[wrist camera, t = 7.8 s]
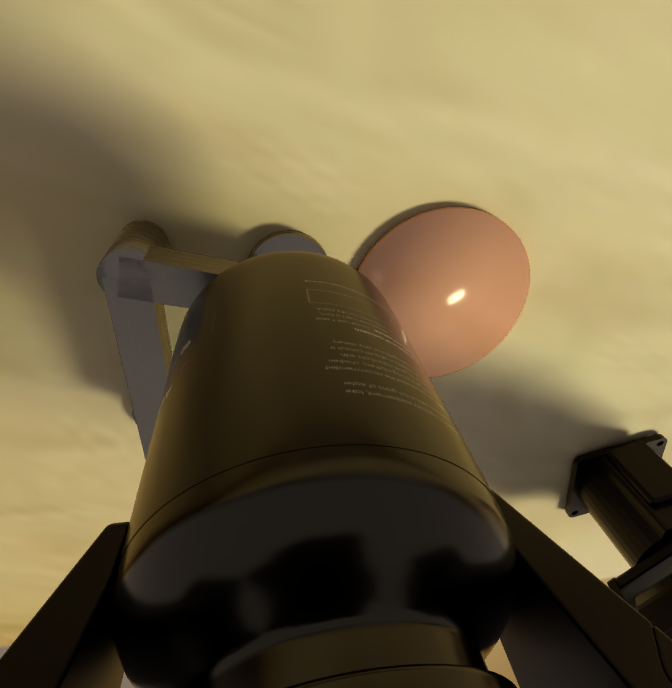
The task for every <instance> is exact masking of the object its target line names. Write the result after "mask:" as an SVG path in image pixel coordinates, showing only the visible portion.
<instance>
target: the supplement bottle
mask: <svg viewBox="0 0 672 688" xmlns="http://www.w3.org/2000/svg"><path fill="white" fill-rule="evenodd" d="M516 587H517V557H516V550H515V544H514V540H513V536H512V533H511V530H510V527H509V525H508V523H507V521H506V519H505V516H504V514H503V512H502V511H501V508H500V506H499V504H498V502H497V500H496V498H495V496H494V494H493V493H492V491H491V489H490V487H489V485H488V483H487V482H486V480H485V478H484V476H483V474H482V472H481V471H480V469H479V467H478V465H477V463H476V462H475V460H474V458H473V456H472V454H471V452H470V451H469V449H468V447H467V445H466V443H465V442H464V440H463V438H462V436H461V434H460V432H459V431H458V429H457V427H456V425H455V423H454V421H453V420H452V418H451V416H450V414H449V412H448V411H447V409H446V407H445V405H444V403H443V401H442V400H441V398H440V396H439V394H438V392H437V391H436V389H435V387H434V385H433V383H432V381H431V380H430V378H429V376H428V374H427V372H426V371H425V369H424V367H423V365H422V363H421V361H420V360H419V358H418V356H417V354H416V352H415V351H414V349H413V347H412V345H411V343H410V341H409V340H408V338H407V336H406V334H405V332H404V331H403V329H402V327H401V325H400V323H399V321H398V320H397V318H396V316H395V314H394V313H393V311H392V310H391V308H390V306H389V304H388V303H387V301H386V299H385V298H384V296H383V295H382V294H381V292H380V291H379V290H378V288H377V287H376V286H375V285H374V284H373V283H372V282H371V281H370V280H369V279H368V278H367V277H366V276H364V275H363V274H362V273H361V272H359V271H358V270H356V269H355V268H353V267H351V266H350V265H348V264H346V263H344V262H342V261H339V260H337V259H335V258H332V257H329V256H325V255H322V254H317V253H312V252H304V251H280V252H272V253H266V254H262V255H258V256H255V257H252V258H249V259H246V260H244V261H241V262H239V263H237V264H235V265H233V266H231V267H230V268H228V269H226V270H225V271H223V272H222V273H220V274H219V275H218V276H216V277H215V278H214V279H213V280H211V281H210V282H209V283H208V284H207V285H206V286H205V287H204V288H203V289H202V290H201V292H200V293H199V294H198V295H197V297H196V298H195V300H194V301H193V302H192V304H191V306H190V308H189V310H188V312H187V314H186V316H185V318H184V321H183V323H182V326H181V329H180V333H179V336H178V340H177V342H176V346H175V350H174V354H173V358H172V362H171V365H170V369H169V373H168V377H167V381H166V385H165V389H164V392H163V396H162V400H161V404H160V408H159V412H158V416H157V419H156V423H155V427H154V431H153V435H152V439H151V442H150V446H149V450H148V454H147V458H146V462H145V466H144V469H143V473H142V477H141V481H140V485H139V489H138V492H137V496H136V500H135V504H134V508H133V512H132V516H131V519H130V523H129V527H128V531H127V535H126V539H125V543H124V547H123V550H122V555H121V559H120V563H119V567H118V571H117V578H116V582H115V586H114V591H113V597H112V602H111V626H112V632H113V638H114V643H115V647H116V651H117V654H118V657H119V659H120V662H121V665H122V667H123V670H124V672H125V673H126V676H127V678H128V679H129V681H130V682H131V684H132V685H133V687H134V688H517V687H516V686H515V685H514V684H513V683H512V682H511V681H510V680H508V679H507V678H506V677H504V676H502V675H500V674H497V673H495V672H492V671H489V670H488V668H487V666H486V663H485V659H486V658H487V656H488V655H489V654H490V652H491V651H492V649H493V648H494V646H495V645H496V643H497V642H498V640H499V638H500V636H501V635H502V633H503V631H504V629H505V627H506V625H507V622H508V620H509V617H510V615H511V612H512V608H513V604H514V600H515V595H516Z"/></svg>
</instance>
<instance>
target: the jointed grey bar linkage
mask: <svg viewBox="0 0 672 688" xmlns="http://www.w3.org/2000/svg"><path fill="white" fill-rule="evenodd" d="M168 247H169V244H168V239H167V237H166V235H165V233H164V232H163V231H162V230H161V229H160V228H159V227H158V226H156V225H155V224H153V223H150V222H147V221H135V222H132V223H130V224H128V225H127V226H126V227H125V228H124V229H123V231H122V232H121V234H120V235H119V236H118V238H117V239H116V241H115V242H114V244H113V245H112V246H111V248H110V249H109V251H108V252H107V254H106V255H105V256H104V258H103V259H102V261H101V262H100V264H99V265H98V268H97V280H98V283H99V285H100V287H101V288H102V289H103V291H104V292H105V294H106V298H107V302H108V306H109V310H110V314H111V319H112V323H113V327H114V331H115V335H116V339H117V343H118V348H119V352H120V356H121V360H122V364H123V368H124V372H125V377H126V381H127V385H128V389H129V393H130V397H131V401H132V406H133V417H134V420H135V422H136V423H137V426H138V430H139V435H140V439H141V443H142V447H143V451H144V455H145V459H146V458H147V454H148V450H149V446H150V442H151V439H152V435H153V431H154V427H155V423H156V419H157V416H158V412H159V408H160V404H161V400H162V396H163V392H164V389H165V385H166V381H167V377H168V373H169V369H170V365H171V362H172V358H173V357H172V351H171V345H170V339H169V333H168V327H167V321H166V315H165V310H164V304H166V305H172V306H179V307H185V308H190V306H191V304H192V302H193V301H194V300H195V298H196V297H197V295H198V294H199V293H200V292H201V290H202V289H203V288H204V287H205V286H206V285H207V284H208V283H209V282H210V281H211V280H213V279H214V278H215V277H216V276H218V275H219V274H220V273H222V272H223V271H225V270H226V269H228V268H230V267H231V266H233V265H235V264H237V263H239V262H237V261H231V260H226V259H221V258H216V257H211V256H205V255H200V254H195V253H190V252H185V251H179V250H174V249H169V248H168ZM280 251H304V252H312V253H317V254H322V255H325V256H326V253H325V251H324V250H323V248H322V246H321V245H320V244H319V243H318V242H317V241H316V240H315V239H313V238H312V237H310V236H308V235H306V234H304V233H301V232H297V231H280V232H276V233H273V234H271V235H268V236H267V237H265V238H264V239H262V240H261V241H260V242H259V243H258V244H257V245H256V246H255V247H254V249H253V250H252V252H251V254H250V256H249V258H252V257H255V256H258V255H262V254H266V253H272V252H280Z"/></svg>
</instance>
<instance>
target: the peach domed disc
mask: <svg viewBox="0 0 672 688" xmlns="http://www.w3.org/2000/svg"><path fill="white" fill-rule="evenodd" d="M358 271H359V272H361V273H362V274H363V275H364V276H366V277H367V278H368V279H369V280H370V281H371V282H372V283H373V284H374V285H375V286H376V287H377V288H378V290H379V291H380V292H381V294H382V295H383V296H384V298H385V299H386V301H387V303H388V304H389V306H390V308H391V310H392V311H393V313H394V314H395V316H396V318H397V320H398V321H399V323H400V325H401V327H402V329H403V331H404V332H405V334H406V336H407V338H408V340H409V341H410V343H411V345H412V347H413V349H414V351H415V352H416V354H417V356H418V358H419V360H420V361H421V363H422V365H423V367H424V369H425V371H426V372H427V374H428V376H429V378H431V377H438V376H443V375H447V374H450V373H453V372H456V371H459V370H461V369H463V368H466V367H468V366H470V365H471V364H473V363H475V362H477V361H478V360H480V359H481V358H483V357H484V356H486V355H487V354H488V353H489V352H491V351H492V350H493V349H494V348H495V347H496V346H497V345H498V344H499V343H500V342H501V341H502V340H503V339H504V338H505V337H506V336H507V334H508V333H509V332H510V331H511V329H512V328H513V326H514V325H515V323H516V322H517V320H518V318H519V316H520V314H521V312H522V310H523V307H524V305H525V302H526V299H527V295H528V291H529V284H530V267H529V260H528V256H527V253H526V250H525V248H524V246H523V244H522V242H521V240H520V239H519V237H518V236H517V235H516V233H515V232H514V231H513V230H512V229H511V228H510V227H509V226H508V225H507V224H505V223H504V222H502V221H501V220H499V219H498V218H496V217H495V216H493V215H491V214H489V213H486V212H484V211H481V210H478V209H474V208H468V207H443V208H437V209H432V210H429V211H426V212H423V213H420V214H417V215H415V216H413V217H411V218H409V219H407V220H405V221H403V222H402V223H400V224H398V225H397V226H395V227H394V228H393V229H391V230H390V231H389V232H387V233H386V234H385V235H384V236H383V237H382V238H381V239H380V240H379V241H378V242H377V243H376V244H375V245H374V246H373V247H372V248H371V250H370V251H369V252H368V253H367V255H366V256H365V258H364V259H363V261H362V263H361V264H360V266H359V268H358Z"/></svg>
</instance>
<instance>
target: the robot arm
mask: <svg viewBox="0 0 672 688" xmlns="http://www.w3.org/2000/svg"><path fill="white" fill-rule="evenodd" d="M666 443H667V439H666V438H665V437H664V436H663V435H661V434H657V435H653V436H650V437H646V438H642V439H639V440H635V441H632V442H628V443H624V444H621V445H617V446H613V447H610V448H606V449H602V450H599V451H595V452H591V453H588V454H584V455H581V456H579V457H577V458H576V459H575V460H574V463H573V469H572V475H571V481H570V486H569V492H568V498H567V503H566V509H565V511H566V513H567V514H568V516H569V517H575V516H579V515H583V514H586V513H590V514H591V515H592V517H593V518H594V519H595V521H596V522H597V523H598V524H599V526H600V527H601V528H602V530H603V531H604V532H605V534H606V535H607V536H608V538H609V539H610V540H611V542H612V543H613V544H614V545H615V547H616V548H617V549H618V551H619V552H620V553H621V555H622V556H623V557H624V559H625V560H626V561H627V562H628V564H629V565H630V566H631V568H630V569H629V570H627V571H626V572H624V573H623V574H621V575H620V576H618V577H617V578H612V579H611V580H609V581H608V582H607V584H608V586H609V587H608V586H606V585H605V584H604V583H603V582H602V581H600V580H599V579H598V578H597V577H596V576H594V575H593V574H592V573H591V572H590V571H589V570H587V569H586V568H585V567H584V566H583V565H581V564H580V563H579V562H578V561H577V560H575V559H574V558H573V557H572V556H571V555H569V554H568V553H567V552H566V551H565V550H563V549H562V548H561V547H560V546H559V545H557V544H556V543H555V542H554V541H553V540H551V539H550V538H549V537H548V536H547V535H545V534H544V533H543V532H542V531H541V530H539V529H538V528H537V527H536V526H535V525H533V524H532V523H531V522H530V521H529V520H527V519H526V518H525V517H524V516H523V515H521V514H520V513H519V512H518V511H517V510H515V509H514V508H513V507H512V506H511V505H509V504H508V503H507V502H506V501H505V500H503V499H502V498H501V497H500V496H499V495H497V494H496V493H495V492H494V491H493V490H491V491H492V493H493V494H494V496H495V498H496V500H497V502H498V504H499V506H500V508H501V511H502V512H503V514H504V516H505V519H506V521H507V523H508V525H509V527H510V530H511V533H512V536H513V540H514V544H515V550H516V557H517V587H516V595H515V600H514V604H513V608H512V612H511V615H510V617H509V620H508V622H507V625H506V627H505V629H504V631H503V633H502V635H501V636H500V640H501V643H502V645H503V647H504V650H505V652H506V655H507V657H508V660H509V662H510V665H511V667H512V669H513V672H514V674H515V677H516V679H517V682H518V684H519V686H520V688H672V467H671V466H670V465H669V464H668V463H667V462H666V461H665V460H663V459H662V455H663V452H664V449H665V446H666ZM129 523H130V522H122V523H113V524H110V525H108V526H107V527H106V528H105V529H104V530H103V531H102V533H101V534H100V535H99V536H98V538H97V539H96V540H95V541H94V543H93V544H92V545H91V546H90V548H89V549H88V550H87V551H86V553H85V554H84V555H83V556H82V558H81V559H80V560H79V561H78V563H77V564H76V565H75V566H74V568H73V569H72V570H71V571H70V573H69V574H68V575H67V576H66V578H65V579H64V580H63V581H62V583H61V584H60V585H59V586H58V588H57V589H56V590H55V591H54V593H53V594H52V595H51V596H50V597H49V599H48V600H47V601H46V602H45V604H44V605H43V606H42V607H41V609H40V610H39V611H38V612H37V614H36V615H35V616H34V617H33V619H32V620H31V621H30V622H29V624H28V625H27V626H26V627H25V629H24V630H23V631H22V632H21V634H20V635H19V636H18V637H17V639H16V640H15V641H14V642H13V644H12V645H11V646H10V647H9V649H8V650H7V651H6V653H5V654H4V655H3V656H2V658H1V659H0V688H120V687H121V683H122V679H123V674H124V670H123V667H122V665H121V662H120V659H119V657H118V654H117V651H116V647H115V643H114V638H113V632H112V626H111V602H112V597H113V591H114V586H115V582H116V578H117V571H118V567H119V563H120V559H121V555H122V550H123V547H124V543H125V539H126V535H127V531H128V527H129Z"/></svg>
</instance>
